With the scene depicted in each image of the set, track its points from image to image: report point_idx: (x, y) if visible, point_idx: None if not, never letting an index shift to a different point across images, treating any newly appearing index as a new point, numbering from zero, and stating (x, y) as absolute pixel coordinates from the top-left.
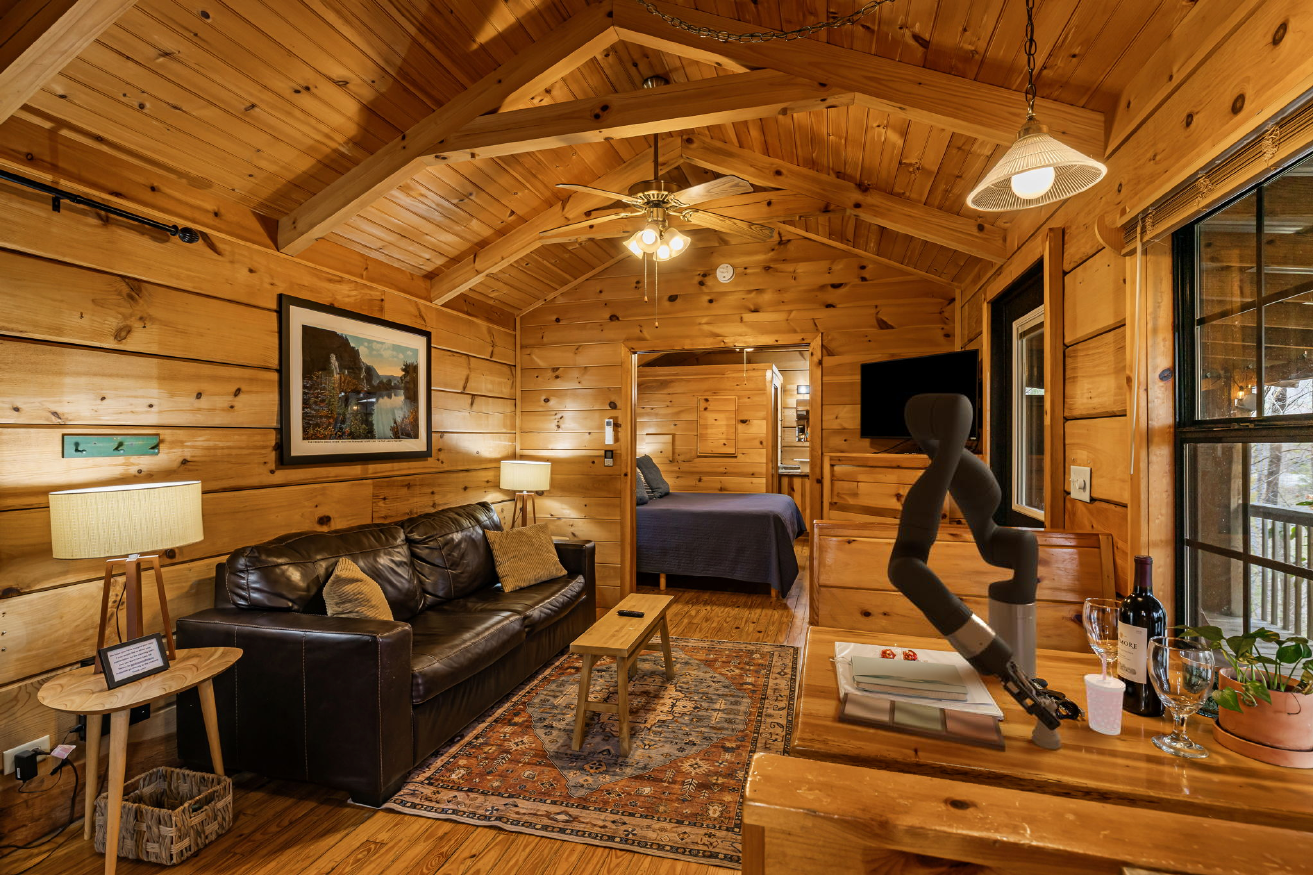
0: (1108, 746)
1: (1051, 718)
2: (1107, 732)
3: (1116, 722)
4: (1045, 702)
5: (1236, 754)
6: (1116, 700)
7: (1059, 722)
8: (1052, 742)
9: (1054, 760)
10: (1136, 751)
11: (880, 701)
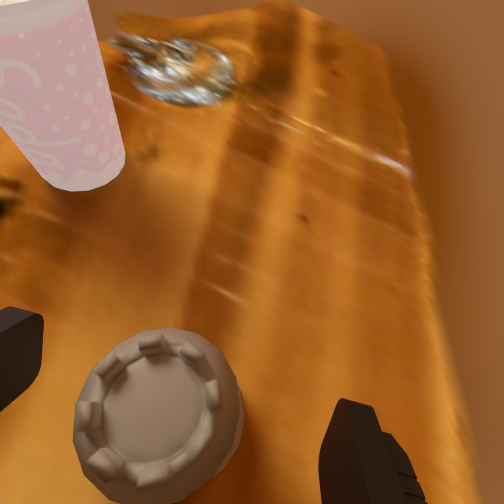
0: (194, 206)
1: (423, 493)
2: (118, 166)
3: (115, 119)
4: (211, 441)
5: (211, 16)
6: (95, 37)
7: (371, 412)
8: (243, 414)
9: None
10: (217, 157)
11: None
